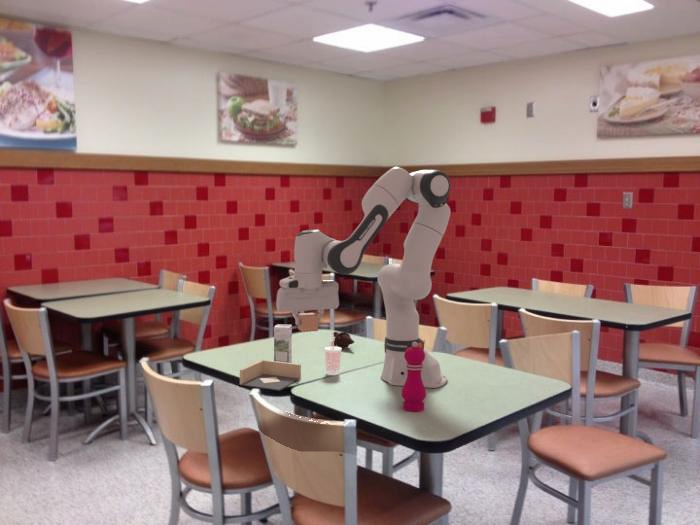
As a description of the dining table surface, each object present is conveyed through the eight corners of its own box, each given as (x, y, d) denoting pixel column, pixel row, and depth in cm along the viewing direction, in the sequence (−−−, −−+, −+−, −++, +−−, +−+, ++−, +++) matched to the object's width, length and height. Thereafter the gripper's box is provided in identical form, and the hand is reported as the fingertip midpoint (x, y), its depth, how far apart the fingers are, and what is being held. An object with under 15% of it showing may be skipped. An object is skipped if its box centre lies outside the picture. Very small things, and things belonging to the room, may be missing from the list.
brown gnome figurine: (362, 334, 259) (341, 331, 271) (348, 332, 255) (327, 329, 267) (359, 351, 258) (338, 347, 271) (345, 349, 254) (324, 345, 266)
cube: (312, 327, 208) (312, 312, 207) (317, 330, 203) (318, 315, 202) (298, 329, 206) (298, 313, 205) (303, 332, 201) (303, 316, 201)
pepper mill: (423, 404, 191) (425, 338, 189) (427, 412, 184) (429, 344, 182) (399, 404, 191) (401, 338, 189) (402, 412, 184) (404, 344, 182)
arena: (300, 378, 217) (300, 364, 217) (279, 390, 203) (279, 375, 203) (262, 373, 223) (262, 359, 222) (238, 385, 209) (238, 370, 208)
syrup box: (292, 362, 239) (292, 324, 238) (288, 366, 233) (289, 327, 232) (276, 361, 240) (277, 323, 238) (273, 365, 234) (273, 326, 232)
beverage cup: (343, 371, 227) (344, 333, 225) (338, 376, 221) (339, 336, 219) (327, 370, 228) (327, 331, 227) (321, 374, 222) (322, 335, 221)
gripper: (335, 278, 210) (334, 320, 211) (274, 281, 202) (274, 324, 203) (342, 280, 204) (341, 323, 205) (280, 283, 196) (280, 327, 197)
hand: (307, 324), depth 204 cm, fingers closed on cube, 5 cm apart
